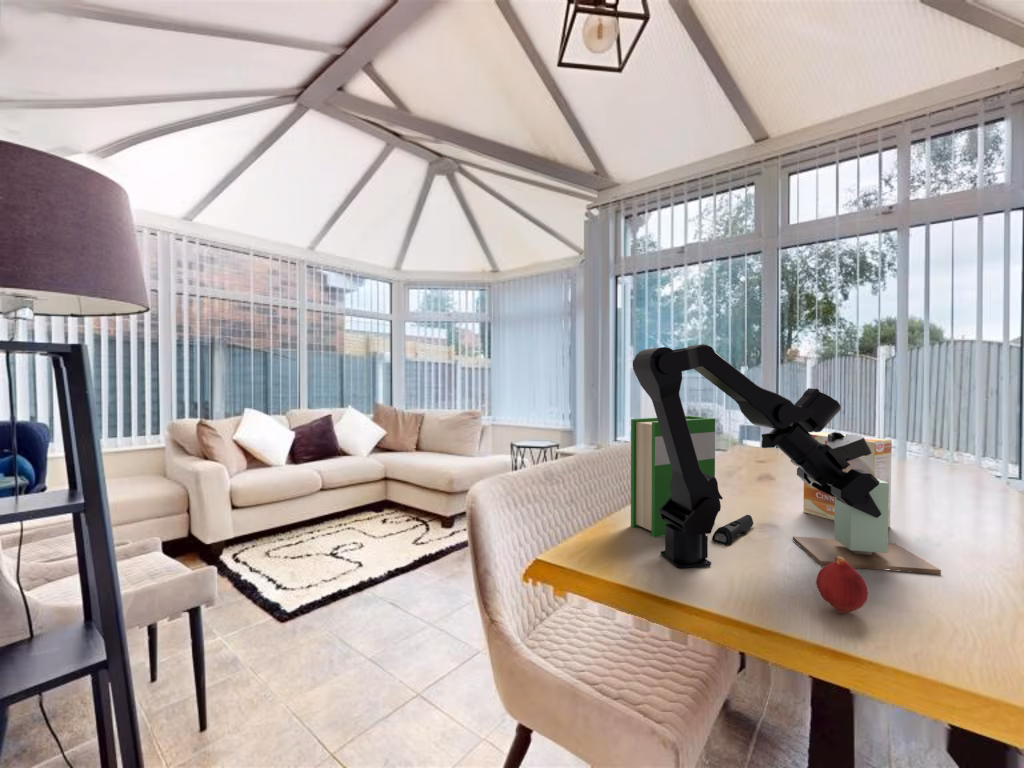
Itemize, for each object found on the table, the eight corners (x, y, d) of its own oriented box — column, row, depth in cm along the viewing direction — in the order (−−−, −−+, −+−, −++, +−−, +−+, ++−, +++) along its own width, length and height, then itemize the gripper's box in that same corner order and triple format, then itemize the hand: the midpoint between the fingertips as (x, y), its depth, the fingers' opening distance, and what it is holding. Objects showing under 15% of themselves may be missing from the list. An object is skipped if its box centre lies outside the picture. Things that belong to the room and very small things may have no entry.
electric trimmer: (758, 530, 97) (758, 516, 97) (729, 548, 87) (729, 532, 86) (740, 525, 100) (740, 511, 100) (710, 542, 89) (710, 527, 89)
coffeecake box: (802, 512, 107) (802, 432, 107) (819, 508, 110) (820, 431, 110) (873, 532, 94) (874, 441, 93) (891, 527, 97) (893, 439, 96)
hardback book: (654, 537, 91) (655, 422, 91) (630, 526, 98) (631, 419, 98) (714, 524, 99) (715, 418, 98) (688, 515, 106) (689, 415, 105)
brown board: (820, 565, 78) (820, 541, 78) (792, 540, 89) (792, 519, 89) (940, 574, 74) (941, 549, 74) (895, 547, 86) (895, 525, 86)
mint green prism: (850, 550, 79) (851, 481, 79) (834, 538, 85) (835, 474, 85) (887, 553, 78) (888, 483, 78) (868, 541, 84) (869, 475, 84)
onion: (845, 601, 65) (845, 548, 65) (878, 623, 60) (879, 565, 59) (807, 602, 65) (807, 549, 65) (837, 624, 59) (837, 566, 59)
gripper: (866, 425, 73) (943, 495, 71) (814, 415, 91) (874, 470, 89) (812, 470, 75) (886, 540, 73) (772, 451, 93) (830, 506, 91)
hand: (868, 510), depth 81 cm, fingers closed on mint green prism, 6 cm apart
